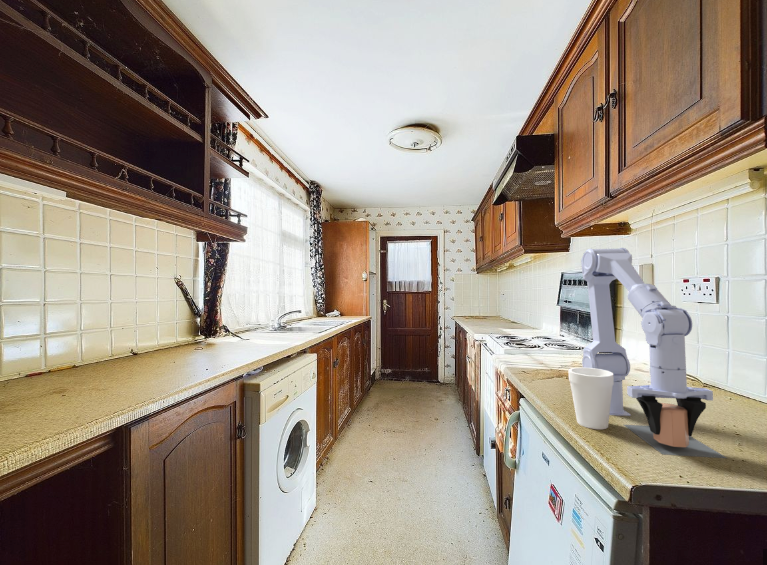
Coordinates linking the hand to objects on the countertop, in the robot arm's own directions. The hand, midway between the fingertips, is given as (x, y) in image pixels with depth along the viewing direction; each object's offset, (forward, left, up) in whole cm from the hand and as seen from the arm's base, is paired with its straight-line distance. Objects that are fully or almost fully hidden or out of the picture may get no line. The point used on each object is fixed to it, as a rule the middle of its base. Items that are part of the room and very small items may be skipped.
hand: (670, 433), depth 70 cm
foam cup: (-11, -10, -3) cm, 16 cm away
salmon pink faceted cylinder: (0, 0, -2) cm, 2 cm away
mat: (-4, +2, -3) cm, 5 cm away
